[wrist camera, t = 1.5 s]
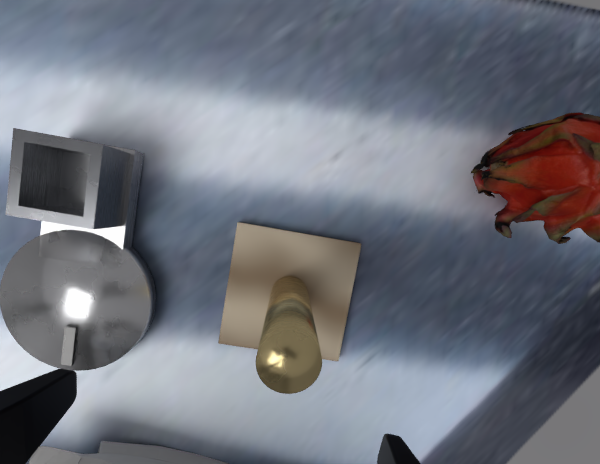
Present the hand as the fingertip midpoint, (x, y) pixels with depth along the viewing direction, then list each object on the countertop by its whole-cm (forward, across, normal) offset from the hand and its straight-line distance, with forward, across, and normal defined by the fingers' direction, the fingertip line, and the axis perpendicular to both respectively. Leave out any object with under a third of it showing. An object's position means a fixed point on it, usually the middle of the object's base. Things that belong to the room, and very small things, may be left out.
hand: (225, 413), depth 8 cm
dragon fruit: (+18, -18, -9) cm, 27 cm away
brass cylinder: (+14, -1, +3) cm, 15 cm away
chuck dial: (+14, +15, +2) cm, 21 cm away
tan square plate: (+15, -1, +3) cm, 15 cm away
